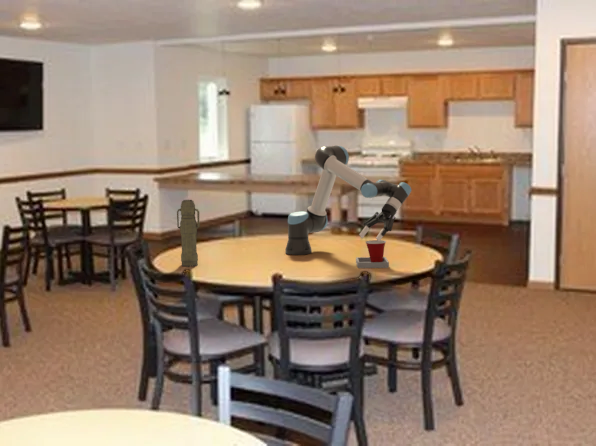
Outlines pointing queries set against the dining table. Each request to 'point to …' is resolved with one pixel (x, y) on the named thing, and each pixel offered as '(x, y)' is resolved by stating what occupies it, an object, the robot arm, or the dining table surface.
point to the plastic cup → (376, 250)
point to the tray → (371, 263)
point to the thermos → (188, 233)
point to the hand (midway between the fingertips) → (369, 238)
